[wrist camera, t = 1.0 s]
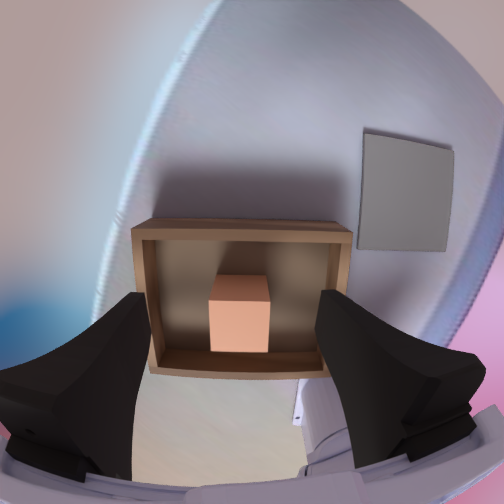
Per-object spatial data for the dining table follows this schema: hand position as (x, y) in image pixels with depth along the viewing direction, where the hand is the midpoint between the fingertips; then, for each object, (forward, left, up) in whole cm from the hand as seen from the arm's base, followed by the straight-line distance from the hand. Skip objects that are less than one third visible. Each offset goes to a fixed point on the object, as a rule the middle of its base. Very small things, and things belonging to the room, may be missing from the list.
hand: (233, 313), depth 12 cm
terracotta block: (-5, 0, -12) cm, 13 cm away
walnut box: (-5, 0, -13) cm, 14 cm away
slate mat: (+4, -15, -13) cm, 21 cm away
